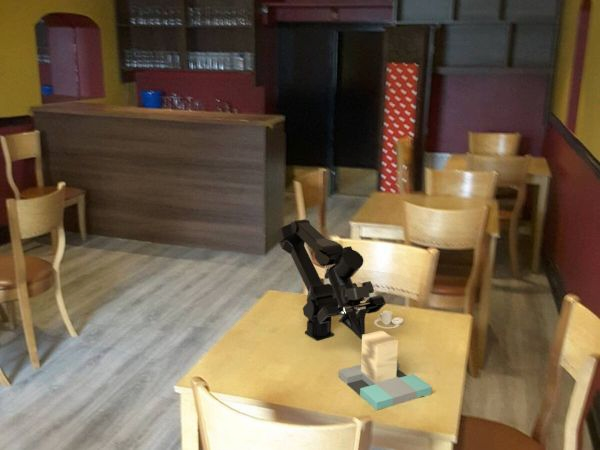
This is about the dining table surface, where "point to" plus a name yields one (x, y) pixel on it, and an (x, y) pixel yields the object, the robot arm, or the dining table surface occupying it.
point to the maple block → (379, 356)
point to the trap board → (379, 383)
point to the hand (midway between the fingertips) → (363, 338)
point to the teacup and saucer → (388, 320)
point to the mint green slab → (383, 400)
